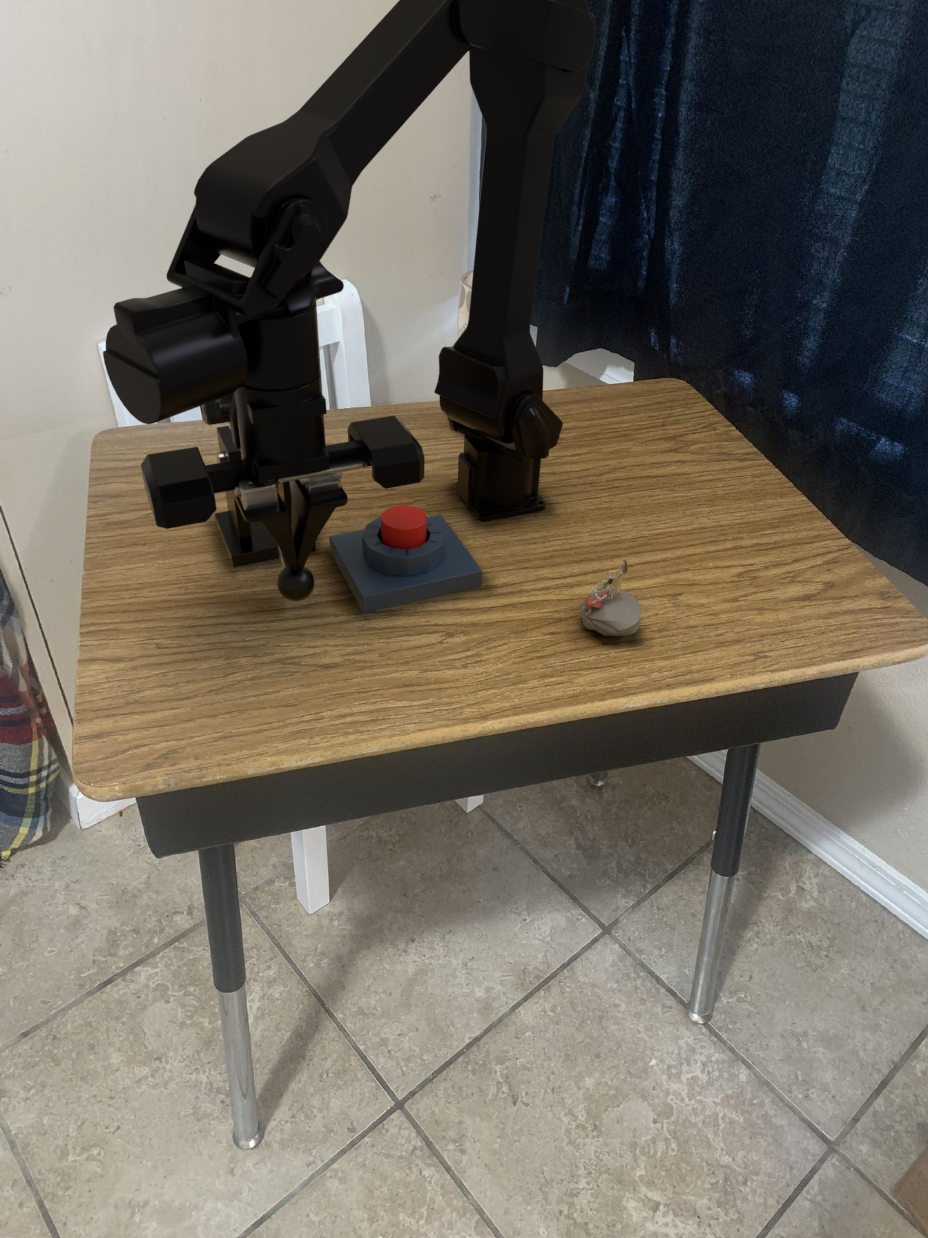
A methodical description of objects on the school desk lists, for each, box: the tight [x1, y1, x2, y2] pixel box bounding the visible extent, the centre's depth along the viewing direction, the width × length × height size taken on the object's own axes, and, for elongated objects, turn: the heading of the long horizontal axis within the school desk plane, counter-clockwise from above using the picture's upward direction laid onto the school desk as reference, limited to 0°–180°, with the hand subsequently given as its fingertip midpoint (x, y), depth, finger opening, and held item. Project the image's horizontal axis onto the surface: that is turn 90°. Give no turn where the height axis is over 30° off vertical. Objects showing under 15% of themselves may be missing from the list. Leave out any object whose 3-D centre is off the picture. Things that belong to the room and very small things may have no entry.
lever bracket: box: [214, 425, 317, 568], centre depth 80 cm, size 7×7×10 cm
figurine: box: [580, 559, 642, 637], centre depth 73 cm, size 5×4×6 cm
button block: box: [328, 514, 483, 614], centre depth 79 cm, size 10×9×4 cm
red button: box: [380, 504, 428, 549], centre depth 78 cm, size 4×4×2 cm
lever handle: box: [240, 449, 316, 602], centre depth 76 cm, size 15×3×3 cm, turn 23°
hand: (295, 568), depth 73 cm, fingers closed
